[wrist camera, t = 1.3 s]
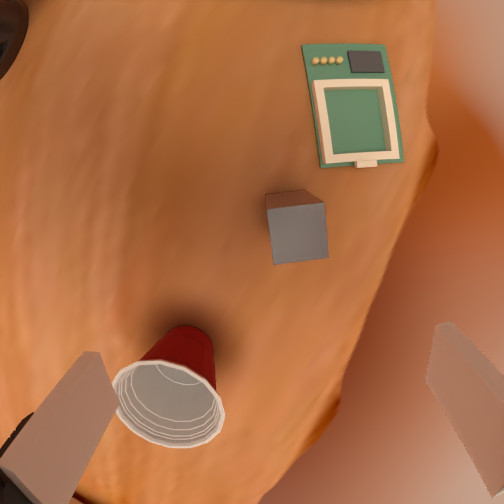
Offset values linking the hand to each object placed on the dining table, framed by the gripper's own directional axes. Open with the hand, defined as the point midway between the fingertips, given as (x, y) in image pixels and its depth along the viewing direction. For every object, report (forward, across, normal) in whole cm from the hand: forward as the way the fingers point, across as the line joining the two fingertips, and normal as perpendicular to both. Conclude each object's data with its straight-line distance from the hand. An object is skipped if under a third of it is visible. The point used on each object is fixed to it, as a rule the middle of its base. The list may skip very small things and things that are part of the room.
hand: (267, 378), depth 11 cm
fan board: (+22, +10, +13) cm, 28 cm away
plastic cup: (+23, -10, -12) cm, 28 cm away
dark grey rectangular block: (+22, +2, +2) cm, 23 cm away
